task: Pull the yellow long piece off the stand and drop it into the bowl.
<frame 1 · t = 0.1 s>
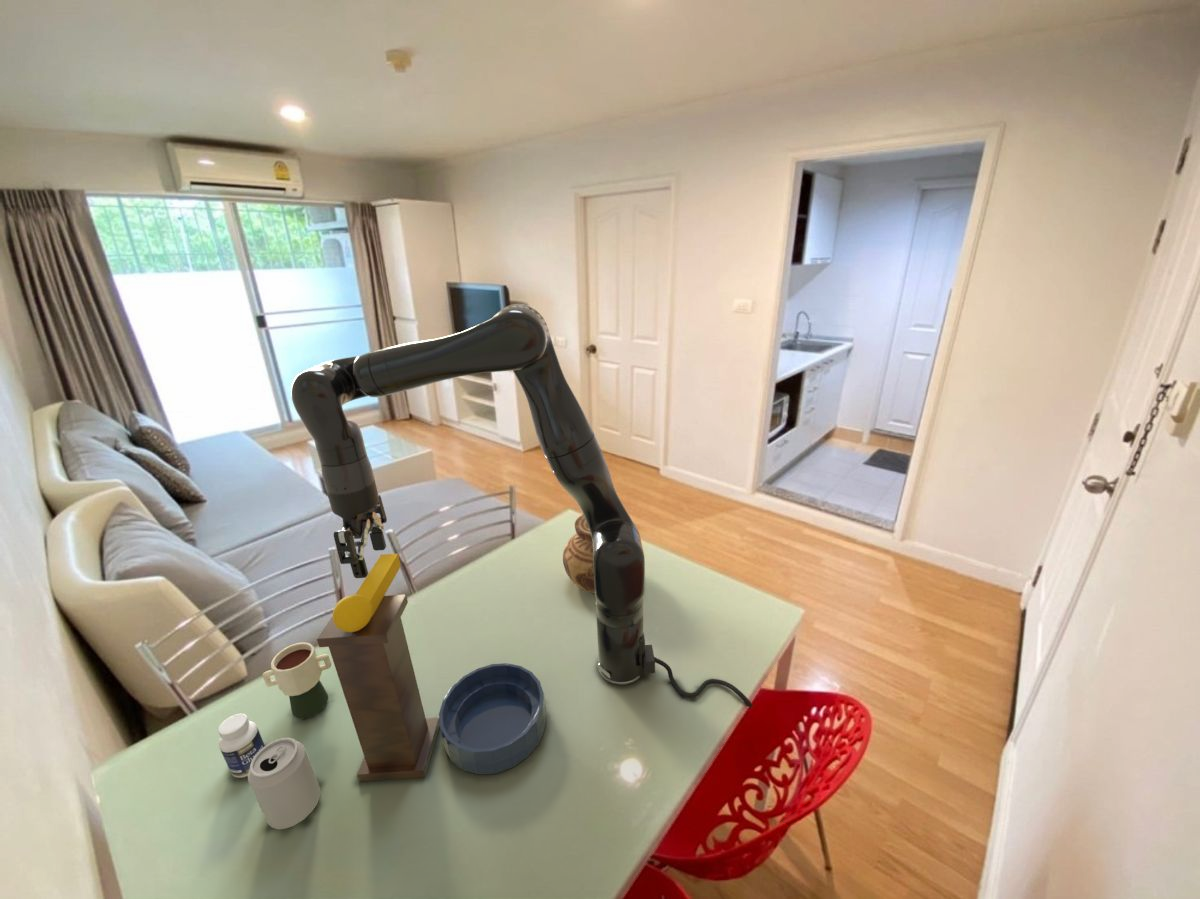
hand: (371, 562, 89), 29 cm above the table, tool pointing down, fingers open, 8 cm apart
clay pot: (601, 581, 128), on the table
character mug: (311, 707, 96), on the table
yellow long piece: (367, 608, 76), point 30 cm above the table, touching stand
can: (296, 807, 78), on the table
pill bottle: (250, 764, 86), on the table
bowl: (496, 727, 90), on the table
stand: (402, 750, 86), on the table
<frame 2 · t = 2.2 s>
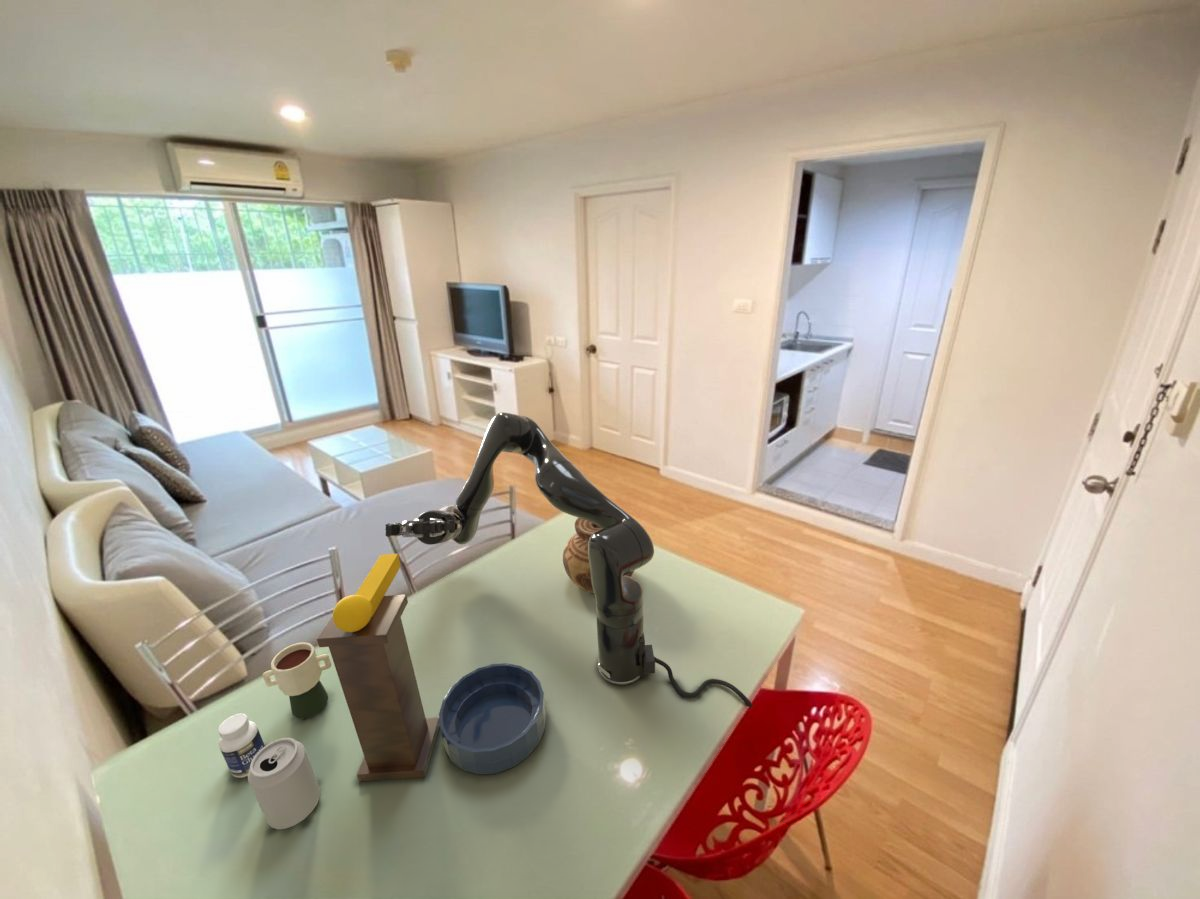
hand: (411, 529, 97), 31 cm above the table, tool pointing upward, fingers open, 8 cm apart
nothing on the table moved.
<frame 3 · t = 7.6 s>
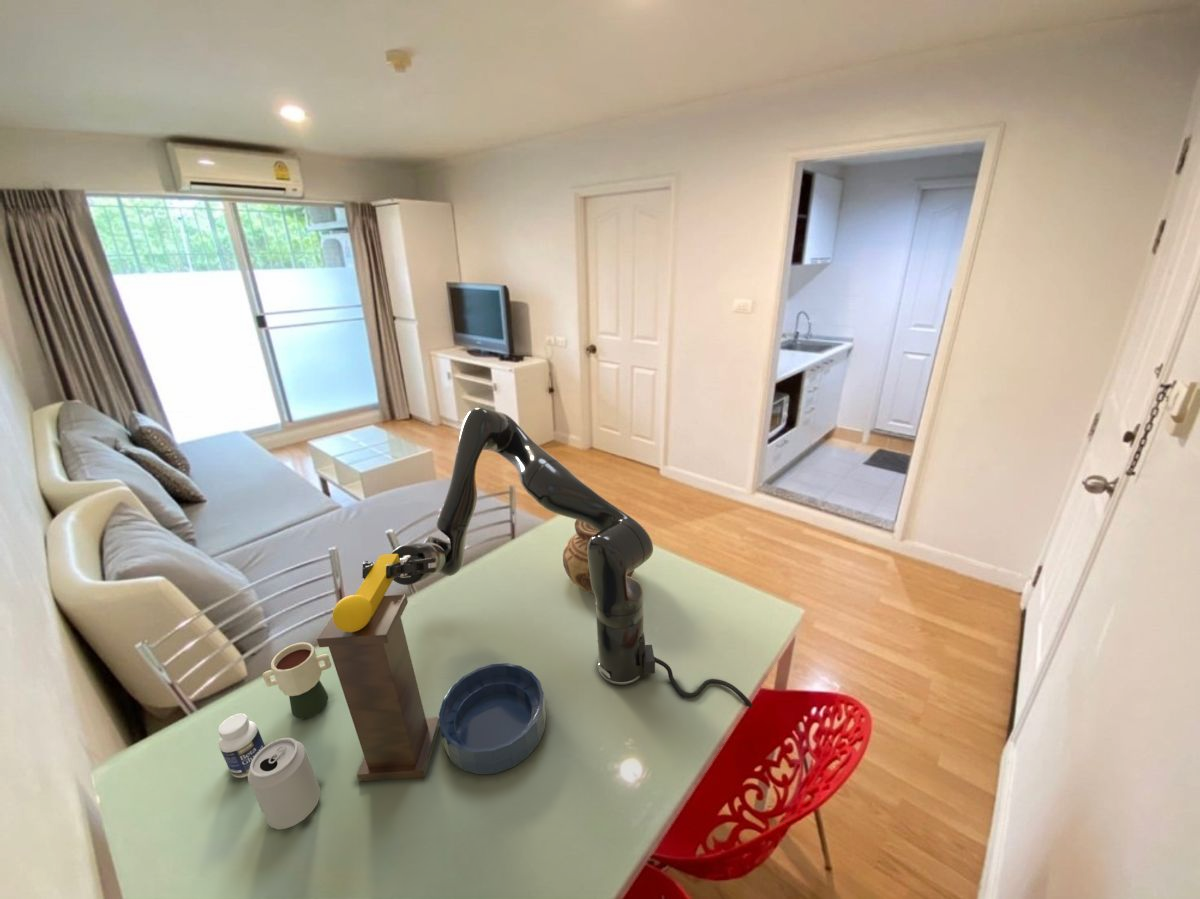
hand: (377, 572, 80), 33 cm above the table, tool pointing upward, fingers closed on yellow long piece, 3 cm apart
yellow long piece: (367, 608, 76), point 30 cm above the table, touching gripper, stand
everything else where it was.
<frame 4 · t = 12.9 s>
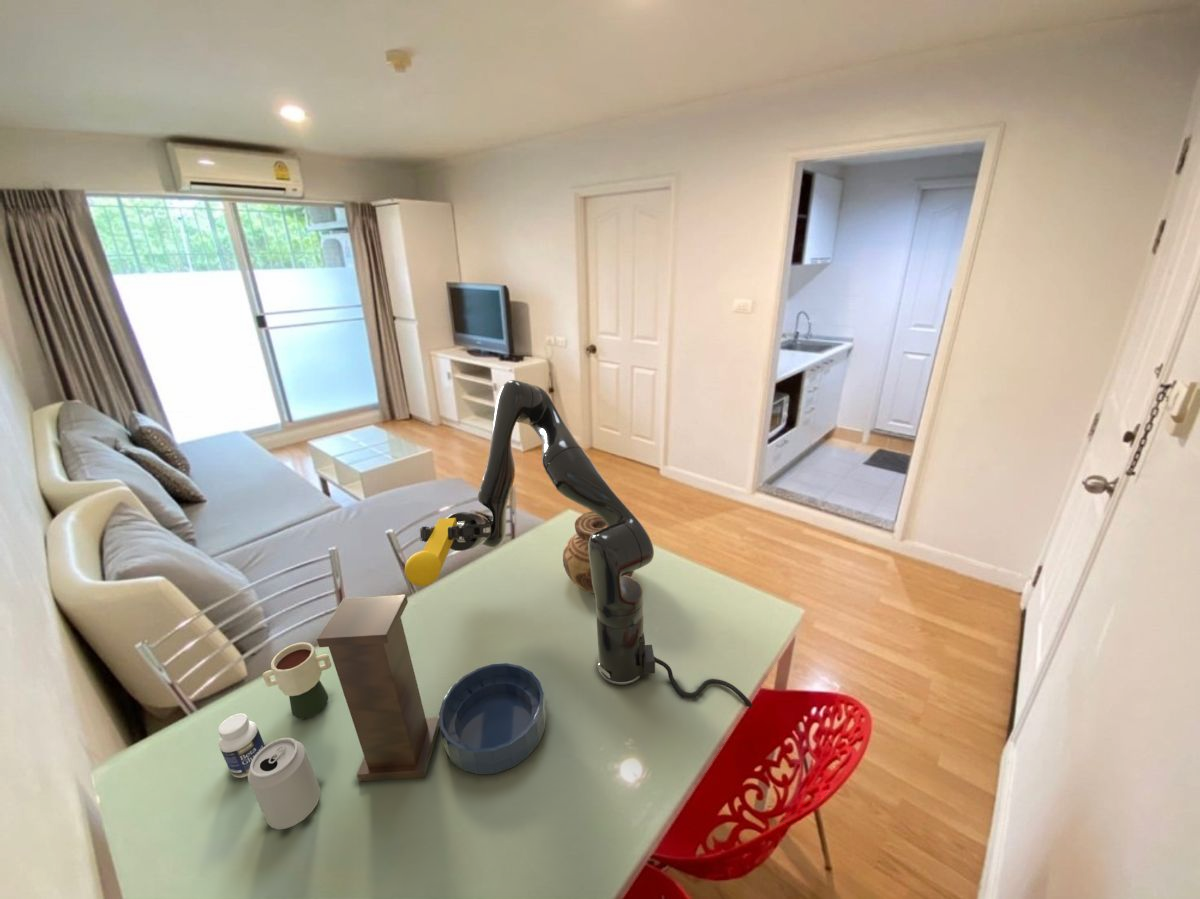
hand: (439, 533, 83), 37 cm above the table, tool pointing upward, fingers closed on yellow long piece, 3 cm apart
yellow long piece: (433, 566, 79), point 34 cm above the table, touching gripper
everything else where it was.
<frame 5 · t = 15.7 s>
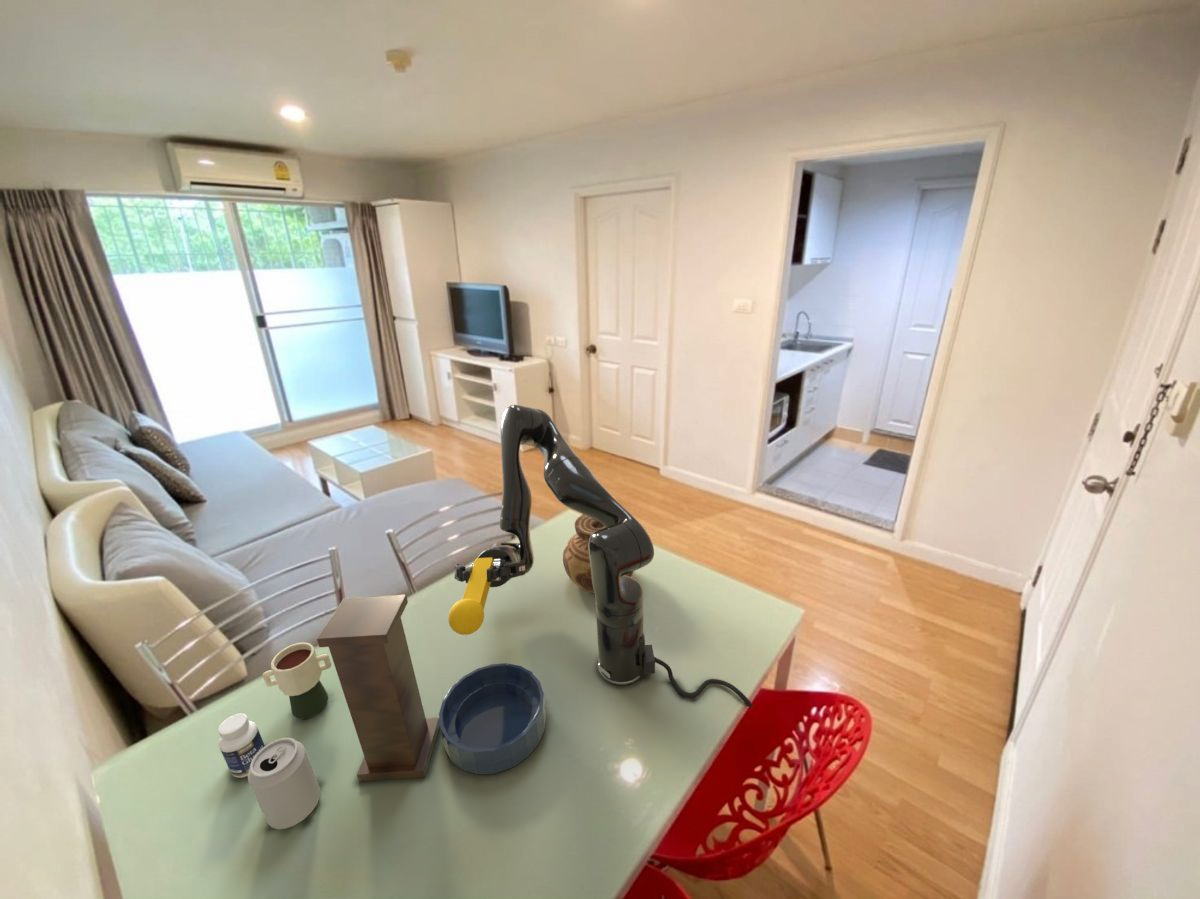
hand: (478, 576, 83), 30 cm above the table, tool pointing upward, fingers closed on yellow long piece, 3 cm apart
yellow long piece: (474, 611, 79), point 27 cm above the table, touching gripper
everything else where it was.
when the fingers open (22 cm above the table, at t = 18.3 s): yellow long piece drops 15 cm, resting on bowl.
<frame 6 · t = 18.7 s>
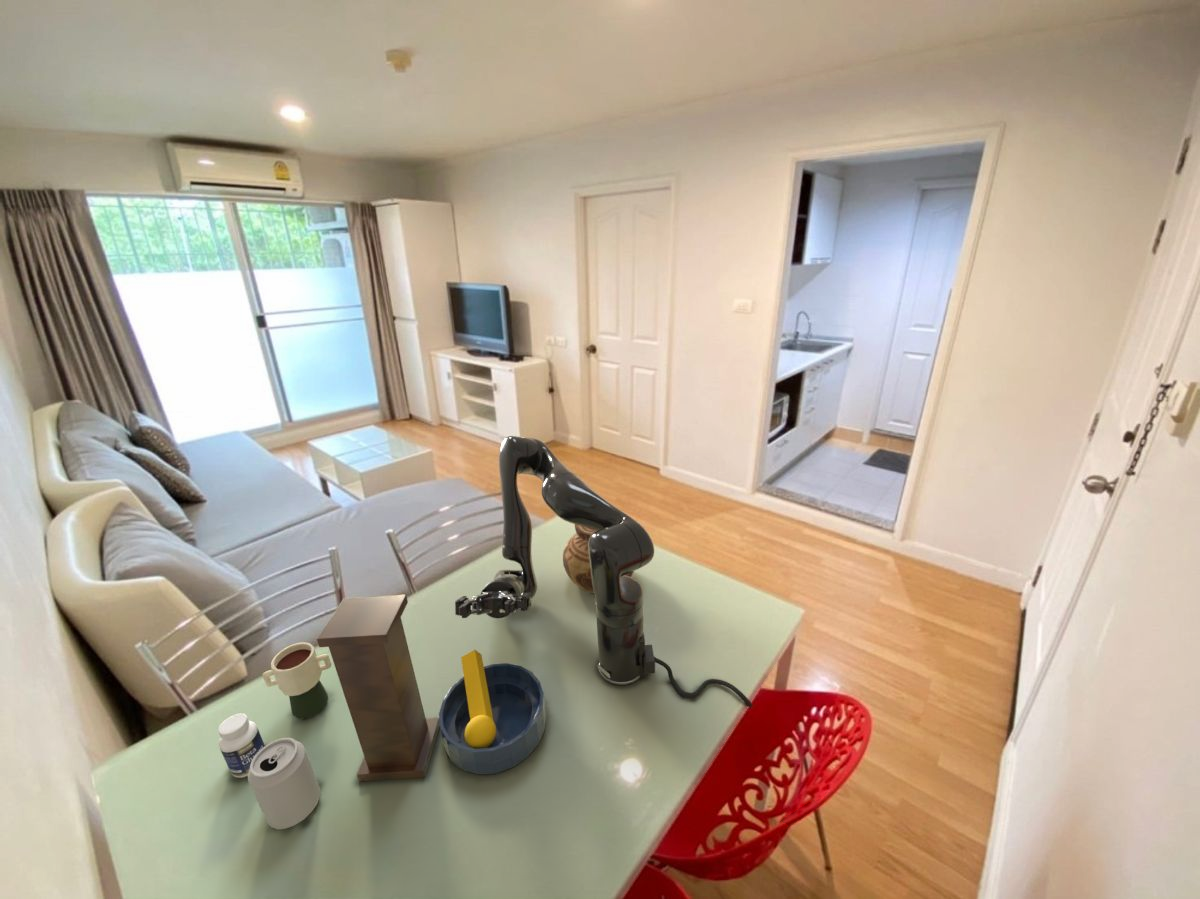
hand: (485, 610, 86), 22 cm above the table, tool pointing upward, fingers open, 7 cm apart
yellow long piece: (484, 713, 88), point 4 cm above the table, tilted 29°, touching bowl
everything else where it was.
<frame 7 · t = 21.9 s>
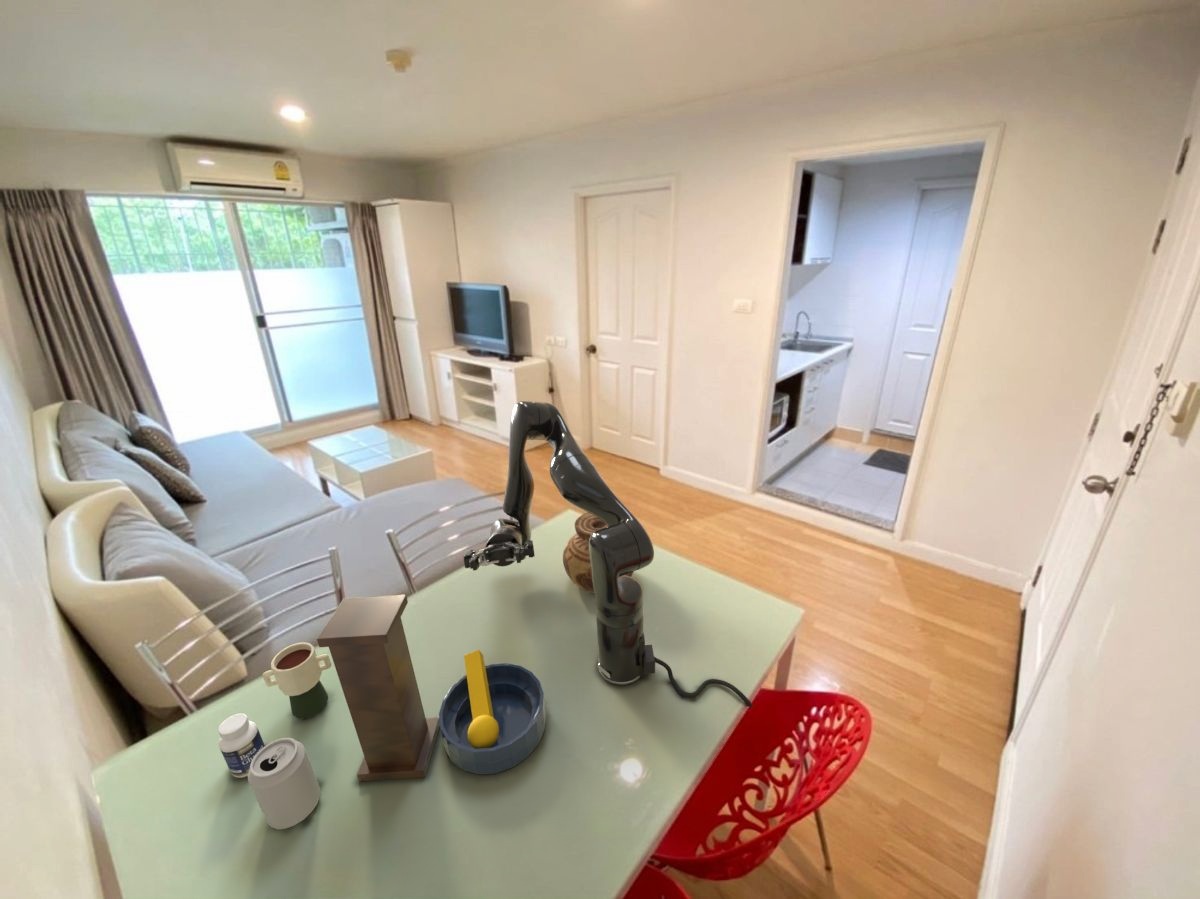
hand: (496, 561, 96), 25 cm above the table, tool pointing upward, fingers open, 8 cm apart
yellow long piece: (484, 714, 88), point 4 cm above the table, tilted 22°, touching bowl
everything else where it was.
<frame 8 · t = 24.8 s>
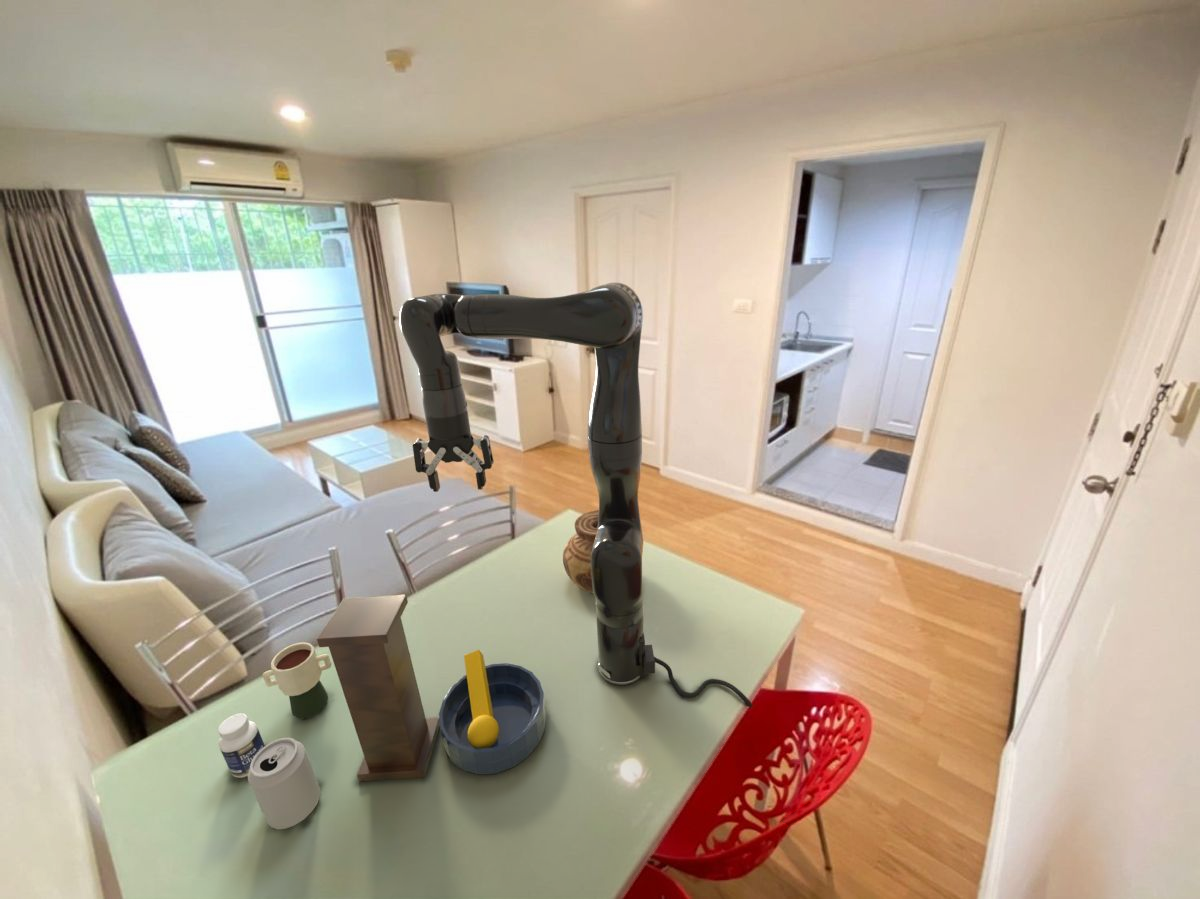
hand: (459, 488, 96), 38 cm above the table, tool pointing down, fingers open, 8 cm apart
nothing on the table moved.
at the end: yellow long piece inside the target area in the bowl (1.6 cm from its centre), point 3.9 cm above the bowl's base; the gripper is holding nothing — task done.
